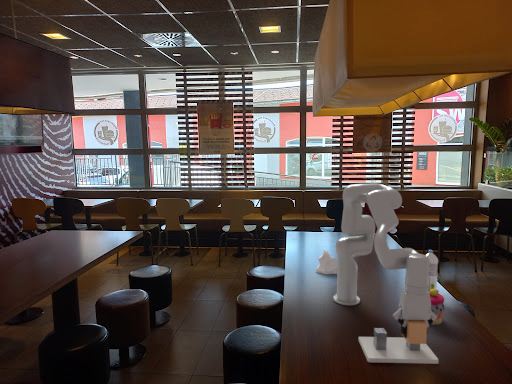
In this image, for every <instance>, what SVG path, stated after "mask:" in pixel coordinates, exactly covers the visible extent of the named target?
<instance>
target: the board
mask: <svg viewBox="0 0 512 384" xmlns="http://www.w3.org/2000/svg"><path fill="white" fill-rule="evenodd" d="M373 339H374V336H358V343H359V345H360V346H361V350H362V351H363V355H364V356H365V358H366V361H367V362H368V363H386V364H387V363H389V364H390V363H393V364H431V365H432V364H433V365H434V364H435V365H437V364H438V365H439V362H440V361H439V358H438V357H437V355H436V354H435V353H434V351H432V349H431V348H430V346H428V344H427V343H426V344H420V351H410V350H409V349H408V347H407V346H406V340H405V338H404V337H401V336H400V337H399V336H398V337H395V336H394V337H391V336H387V343H386V350H376V349H375V347H374V345H373Z"/></svg>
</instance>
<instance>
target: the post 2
mask: <svg viewBox="0 0 512 384" xmlns="http://www.w3.org/2000/svg"><path fill="white" fill-rule="evenodd" d="M406 346H407V347H408V349H409V350H410V351H420V344H408V342H407V341H406Z"/></svg>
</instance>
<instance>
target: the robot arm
mask: <svg viewBox="0 0 512 384" xmlns="http://www.w3.org/2000/svg"><path fill="white" fill-rule="evenodd" d="M342 202H343V210H342V218H341V226H340V228H341V233H342V234H343V236H344V235H345V237H340V238H339V239H338V240H337V241H336V243H335V251H336V252H335V253H336V259H337V274H336V293H335V294H334V295H333V297H332V299H333V301H334V302H335V303H338V304H339V305H343V306H350V307H351V306H357V305H358V304H360V302H361V298H360V297H359V296H358V295H357V294H358V270H359V269H358V264H357V262H356V261H355V259H354V258H355V257H362V256H363V257H364V256H368V255H369V254H371V253H372V251H373V247H374V251H375V254H376V256H377V258H378V261H379V263H380V264H381V266H382V268H384V269H385V270H386V271H387V270H388V271H396V270H404V269H405V278H404V279H405V281H404V289H402V290H401V294H400V298H399V304H398V309H397V310H396V311H395V312H394V313H392V317H393V318H394V319H395V320H396V321H397V322H398V324H400V333H401V335H402V334H403V335H402V336H404V337H405V338H406V337H407V327H406V325H407V321H409V320H423V321H425V322H426V323H427V332H428V331H429V330H428V328H429V327H430V326H431V325H430V324H431V323H433V321H434V320H435V319H437V316H436V315H435V314H434V313H433V312H432V311H431V300H430V295H429V293H428V290H429V289H432V286H431V285H428V278H429V258H428V257H427V256H426V254H423V253H419V252H418V251H416V250H415V249H413V248H411V247H404V248H403V247H401V248H392V249H390V247H389V245H388V243H387V238H386V236H387V233H388V232H390V231H392V230H394V229H396V227H397V226H398V225H399V222H400V221H399V218H398V216H397V214H396V213H395V210H396V209H399V208H401V206H402V203H403V198H402V195H401V193H400V192H399V191H398V190H397V189H395V188H393V187H391V186H388V185H384V184H382V183H355V184H353V183H352V184H349V185H347V186H346V187H345V188H344V189H343V192H342ZM362 203H364V204H367V206H368V209H369V211H370V213H371V215H370V214H363V206H362ZM376 228H377V229H376ZM399 316H401V318H400V317H399ZM404 337H403V338H404Z"/></svg>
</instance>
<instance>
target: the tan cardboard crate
mask: <svg viewBox="0 0 512 384" xmlns="http://www.w3.org/2000/svg"><path fill="white" fill-rule="evenodd" d="M406 327H407V337H406V338H405V337H404V336H403V334H402V333H401V335H402V336H403V338H405V340H406V341H407V342H408V344H427V337H428V331H427V323H426V322H425V321H423V320H409V321H407V325H406Z"/></svg>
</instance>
